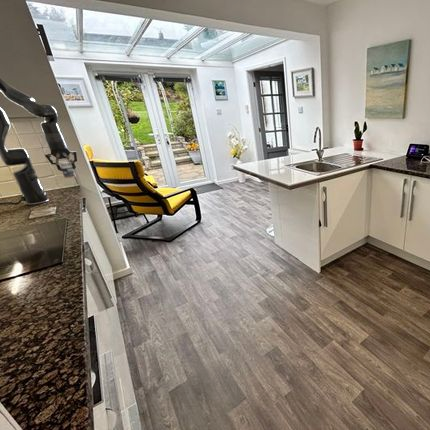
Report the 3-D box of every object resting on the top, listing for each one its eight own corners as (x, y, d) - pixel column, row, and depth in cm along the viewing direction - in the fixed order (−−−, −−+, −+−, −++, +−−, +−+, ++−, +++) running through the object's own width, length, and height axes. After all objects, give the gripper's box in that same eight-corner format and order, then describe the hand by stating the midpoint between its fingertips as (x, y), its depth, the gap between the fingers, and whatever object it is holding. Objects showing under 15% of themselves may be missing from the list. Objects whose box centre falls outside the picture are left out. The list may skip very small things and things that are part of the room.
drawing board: (32, 211, 148) (31, 210, 148) (56, 207, 154) (55, 206, 154) (29, 219, 137) (28, 218, 137) (55, 214, 143) (54, 213, 143)
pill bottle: (62, 177, 158) (56, 163, 155) (72, 175, 163) (67, 161, 159) (68, 178, 156) (62, 163, 153) (78, 176, 161) (72, 161, 158)
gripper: (72, 139, 158) (83, 167, 165) (39, 142, 150) (51, 171, 156) (72, 140, 153) (83, 168, 160) (37, 142, 144) (51, 173, 151)
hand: (67, 169), depth 158 cm, fingers closed on pill bottle, 5 cm apart
